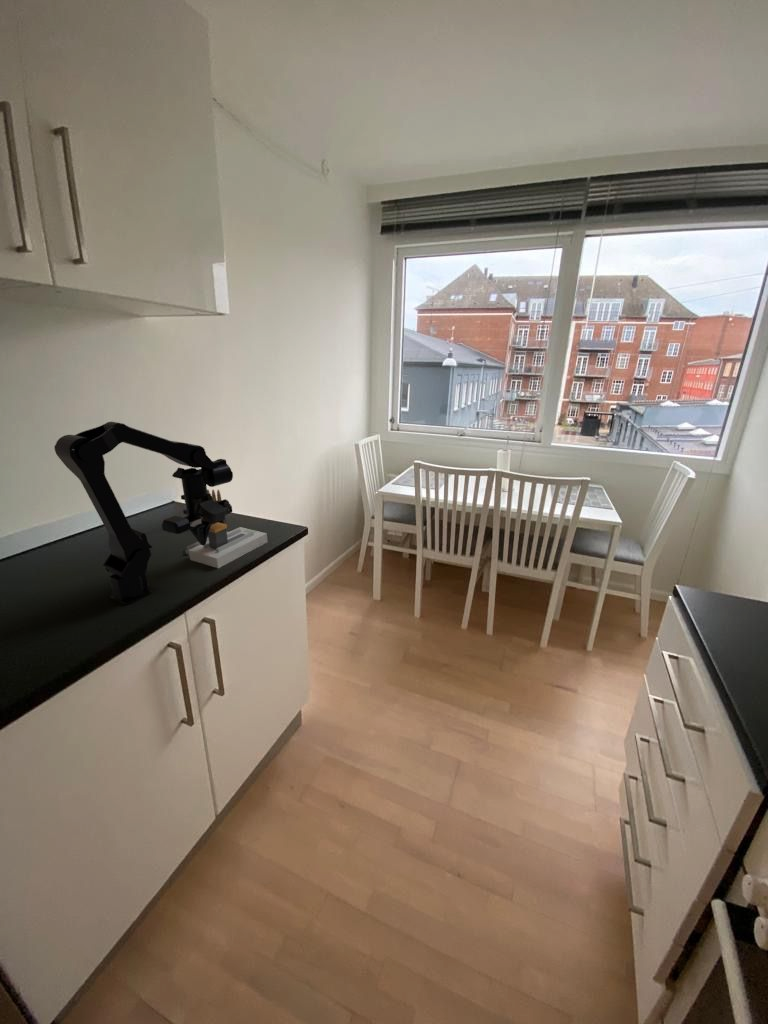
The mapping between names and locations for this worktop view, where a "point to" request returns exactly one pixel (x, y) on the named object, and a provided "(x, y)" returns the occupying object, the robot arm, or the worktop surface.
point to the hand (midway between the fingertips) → (203, 544)
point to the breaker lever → (217, 535)
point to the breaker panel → (229, 547)
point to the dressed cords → (194, 546)
